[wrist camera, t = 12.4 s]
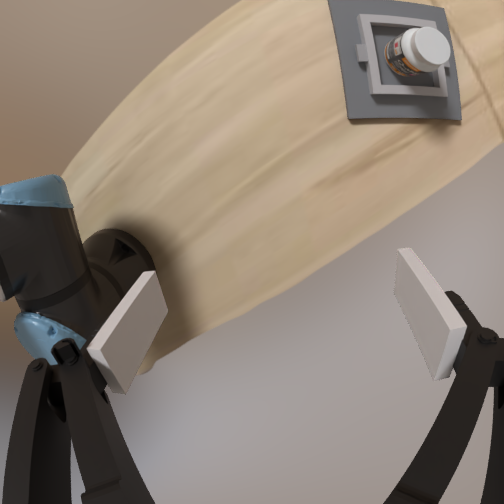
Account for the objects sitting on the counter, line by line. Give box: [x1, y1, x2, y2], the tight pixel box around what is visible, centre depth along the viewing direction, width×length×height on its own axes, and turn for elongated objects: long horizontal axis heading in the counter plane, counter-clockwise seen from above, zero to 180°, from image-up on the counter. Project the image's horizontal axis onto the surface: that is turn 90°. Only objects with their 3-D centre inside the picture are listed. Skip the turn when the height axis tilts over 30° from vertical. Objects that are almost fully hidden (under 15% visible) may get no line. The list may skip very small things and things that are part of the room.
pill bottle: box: [384, 27, 451, 76], centre depth 27 cm, size 6×6×10 cm
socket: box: [328, 0, 462, 120], centre depth 31 cm, size 18×18×3 cm
